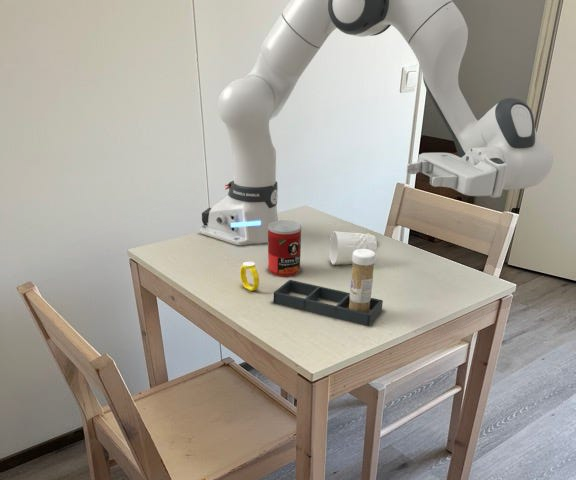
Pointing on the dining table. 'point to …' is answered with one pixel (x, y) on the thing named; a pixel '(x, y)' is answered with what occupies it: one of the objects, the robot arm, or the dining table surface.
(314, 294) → the compartment tray
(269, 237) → the canned food
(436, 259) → the dining table surface
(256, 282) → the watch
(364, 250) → the sprinkles bottle
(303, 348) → the dining table surface
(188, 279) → the dining table surface
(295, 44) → the robot arm
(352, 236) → the white cup
